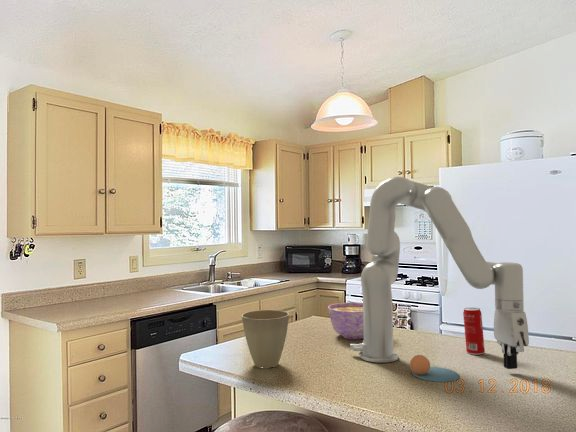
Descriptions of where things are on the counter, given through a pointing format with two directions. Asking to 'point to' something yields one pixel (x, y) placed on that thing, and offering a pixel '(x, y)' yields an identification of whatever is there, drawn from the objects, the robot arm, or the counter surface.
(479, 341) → the beverage can
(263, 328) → the plant pot
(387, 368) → the counter surface
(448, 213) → the robot arm
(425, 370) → the ball
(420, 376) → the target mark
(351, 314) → the bowl of food
